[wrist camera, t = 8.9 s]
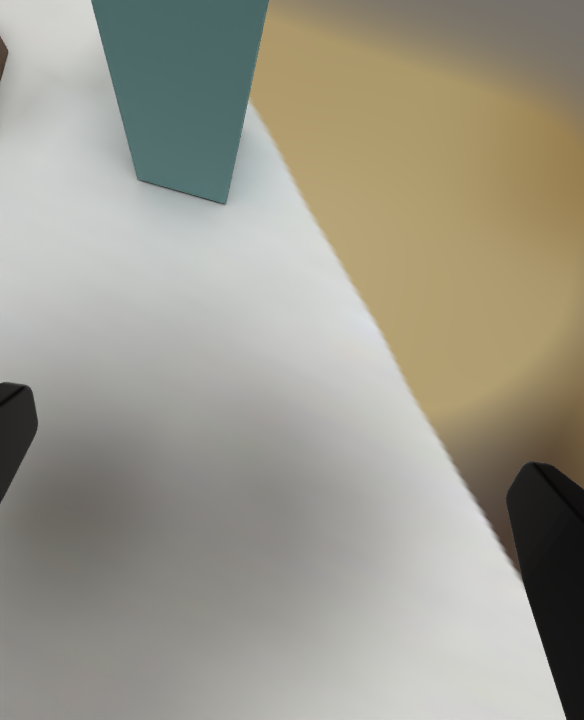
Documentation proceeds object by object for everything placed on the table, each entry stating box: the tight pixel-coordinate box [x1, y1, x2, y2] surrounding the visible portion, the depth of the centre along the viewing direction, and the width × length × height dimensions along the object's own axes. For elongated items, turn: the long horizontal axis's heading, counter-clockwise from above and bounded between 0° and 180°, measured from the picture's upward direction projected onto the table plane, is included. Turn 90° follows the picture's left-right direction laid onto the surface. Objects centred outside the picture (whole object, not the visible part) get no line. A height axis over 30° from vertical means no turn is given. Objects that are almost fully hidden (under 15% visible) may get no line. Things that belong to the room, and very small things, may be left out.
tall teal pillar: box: [91, 0, 269, 204], centre depth 14 cm, size 4×4×14 cm
